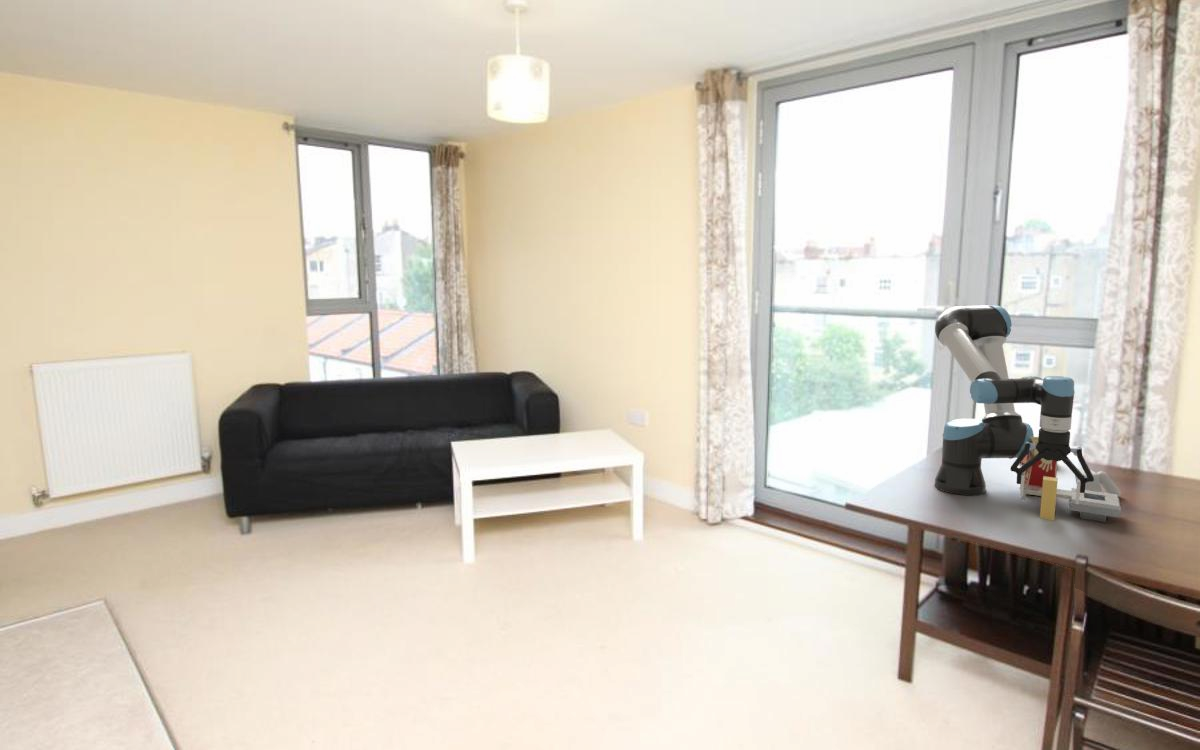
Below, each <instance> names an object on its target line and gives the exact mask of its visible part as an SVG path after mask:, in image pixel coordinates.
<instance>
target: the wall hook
mask: <svg viewBox="0 0 1200 750" xmlns="http://www.w3.org/2000/svg"><path fill="white" fill-rule="evenodd" d="M1077 469H1078V470H1079V471H1080V472H1081V473H1082V474H1083V475H1084V477H1086V474H1085V472H1084V470H1083V468H1082V467H1081V468H1077ZM1090 471H1091V473H1092V475H1093V477H1094V481H1093V482H1086V484H1085V490H1089V491H1096V492H1102V487H1103V488H1104V489H1105V491H1106V493H1110V494H1117V497H1118V498H1119V496H1121V495H1122V491H1121V490H1120V488H1119V487H1118V485H1116V483H1115V482H1114V481H1113V480H1112V479H1111V478H1110V476H1109V474H1108V473H1106V472H1105V471H1103V470H1102V471H1101V470H1100V471H1097V472H1095V471H1094V470H1092V469H1090ZM1074 477H1075V482H1076V484H1077V480H1079V479H1078V478H1077V477H1076V475H1075V474H1074Z"/></svg>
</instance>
